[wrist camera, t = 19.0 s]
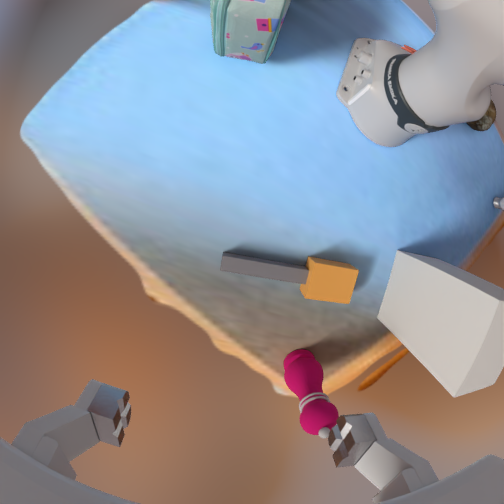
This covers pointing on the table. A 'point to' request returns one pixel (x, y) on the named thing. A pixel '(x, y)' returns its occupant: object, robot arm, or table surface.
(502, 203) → the lightbulb
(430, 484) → the robot arm
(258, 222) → the table surface
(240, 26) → the lunch box
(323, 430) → the pepper mill
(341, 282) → the handle
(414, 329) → the cabinet
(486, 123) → the seashell
